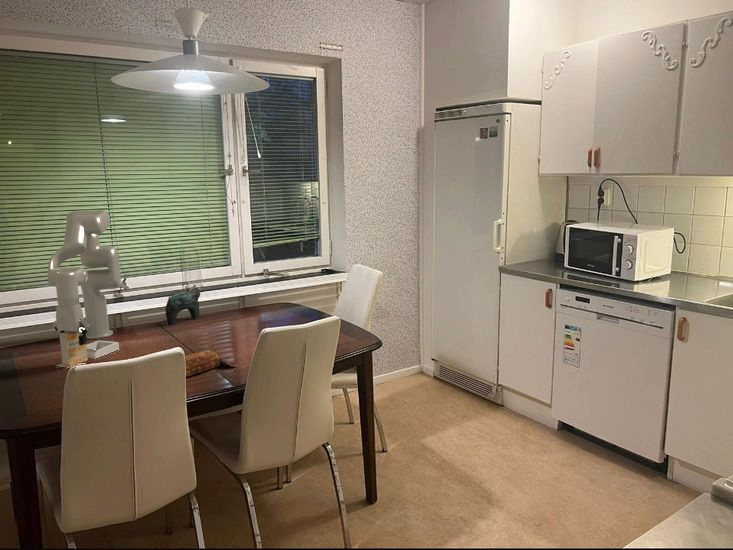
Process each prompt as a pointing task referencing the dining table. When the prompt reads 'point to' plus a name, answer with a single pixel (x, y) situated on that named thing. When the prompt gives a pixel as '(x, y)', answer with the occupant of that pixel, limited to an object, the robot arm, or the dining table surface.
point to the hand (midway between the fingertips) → (73, 343)
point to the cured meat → (203, 362)
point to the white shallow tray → (101, 348)
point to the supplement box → (72, 348)
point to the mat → (70, 366)
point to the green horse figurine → (183, 304)
